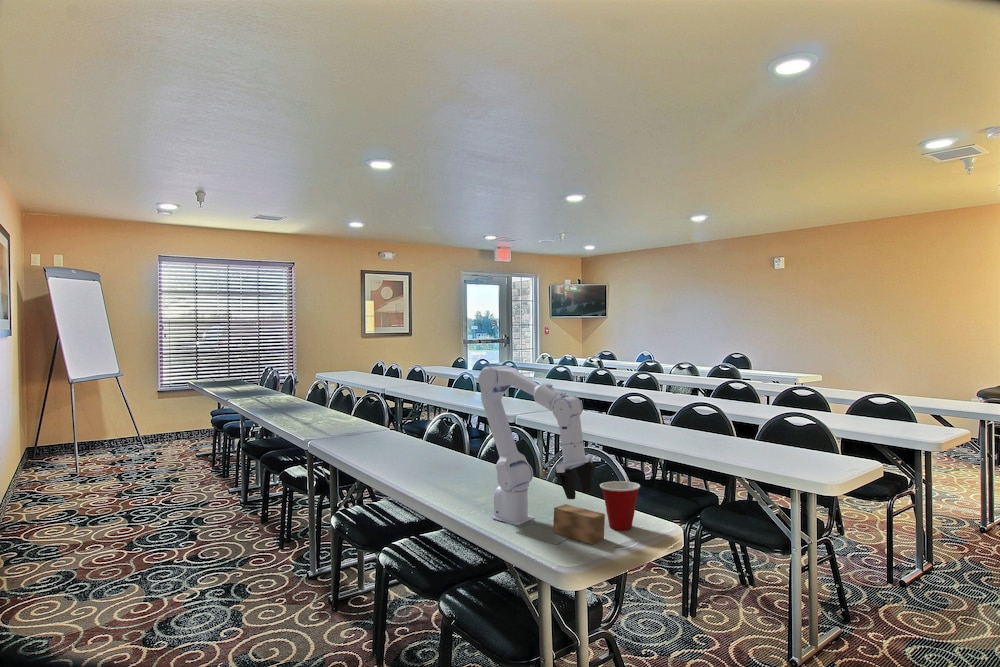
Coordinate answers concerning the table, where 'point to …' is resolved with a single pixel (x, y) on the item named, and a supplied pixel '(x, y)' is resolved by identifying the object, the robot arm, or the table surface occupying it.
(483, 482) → the table surface
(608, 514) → the plastic cup
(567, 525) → the wooden block
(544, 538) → the felt mat
